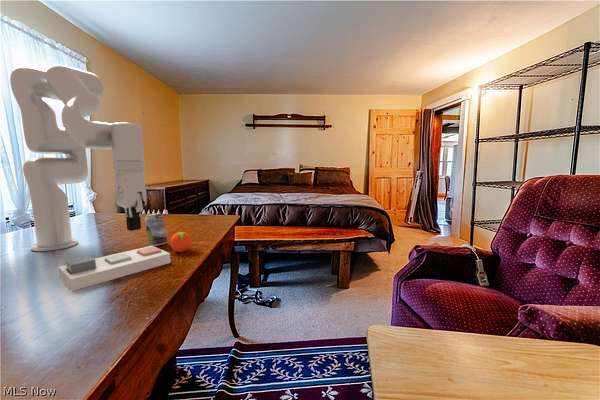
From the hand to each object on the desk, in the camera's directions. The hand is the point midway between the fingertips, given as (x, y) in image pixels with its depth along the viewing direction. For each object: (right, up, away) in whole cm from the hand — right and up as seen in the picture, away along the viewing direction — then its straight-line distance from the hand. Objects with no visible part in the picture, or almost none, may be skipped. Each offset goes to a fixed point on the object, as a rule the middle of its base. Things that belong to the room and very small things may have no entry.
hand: (134, 229), depth 81 cm
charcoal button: (-8, -10, -9) cm, 16 cm away
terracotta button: (+2, -10, +4) cm, 11 cm away
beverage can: (-4, -8, +21) cm, 23 cm away
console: (-3, -11, -2) cm, 12 cm away
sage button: (-3, -11, -2) cm, 11 cm away
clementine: (+8, -9, +14) cm, 19 cm away
